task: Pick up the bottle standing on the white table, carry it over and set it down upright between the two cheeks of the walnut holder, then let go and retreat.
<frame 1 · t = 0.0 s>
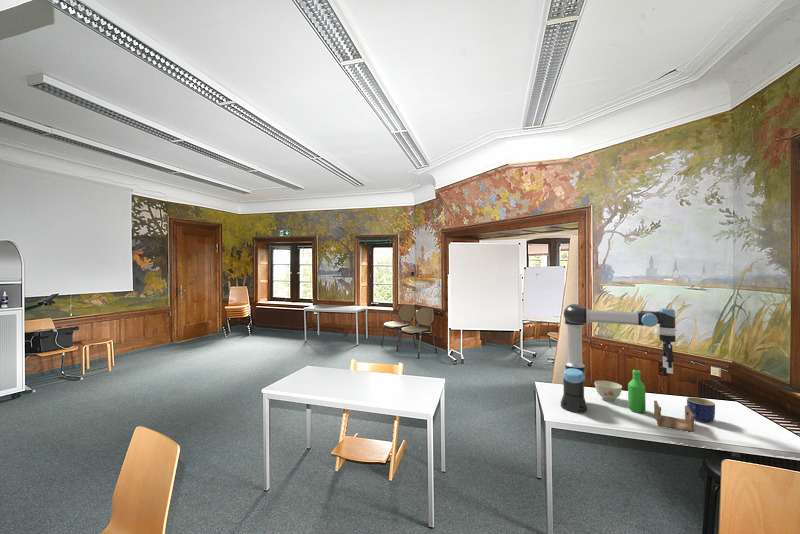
hand: (667, 370, 198), 28 cm above the table, fingers open, 13 cm apart
holder: (673, 424, 189), on the table
planter: (700, 420, 195), on the table
bowl: (608, 399, 226), on the table
bottle: (636, 410, 207), on the table
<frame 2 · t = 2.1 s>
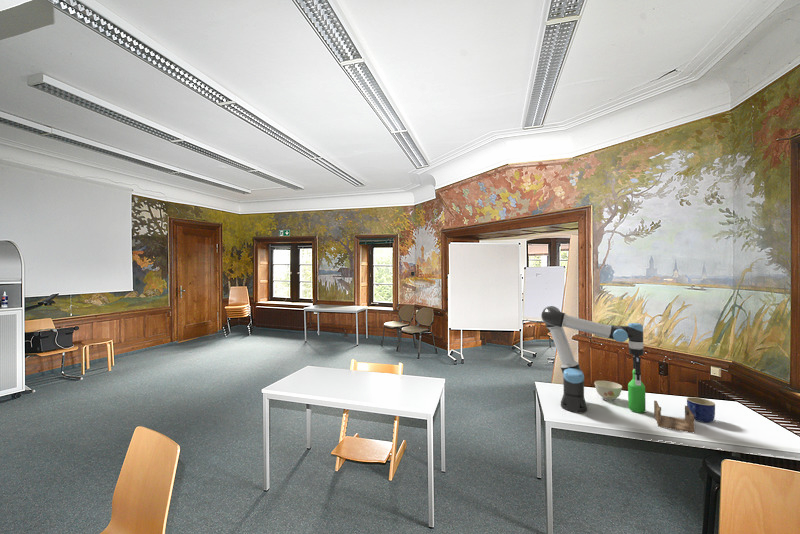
hand: (637, 382, 208), 18 cm above the table, fingers open, 13 cm apart
nothing on the table moved.
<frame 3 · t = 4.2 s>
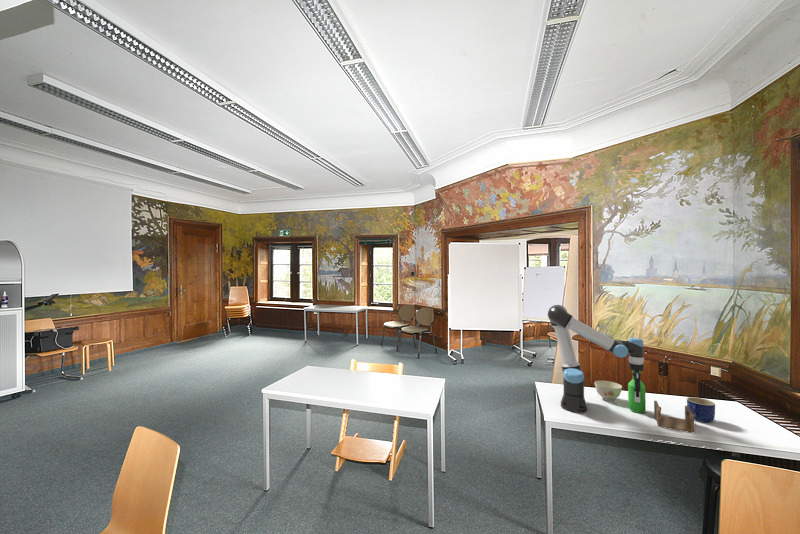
hand: (636, 399, 207), 7 cm above the table, fingers closed on bottle, 9 cm apart
bottle: (636, 410, 207), on the table, touching gripper
everything else where it was.
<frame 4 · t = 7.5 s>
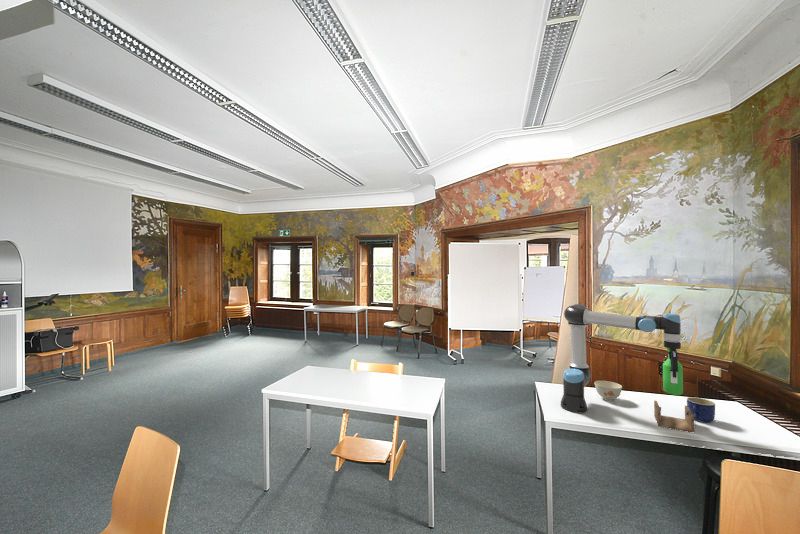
hand: (672, 380, 189), 25 cm above the table, fingers closed on bottle, 9 cm apart
bottle: (672, 393, 189), point 17 cm above the table, touching gripper
everything else where it was.
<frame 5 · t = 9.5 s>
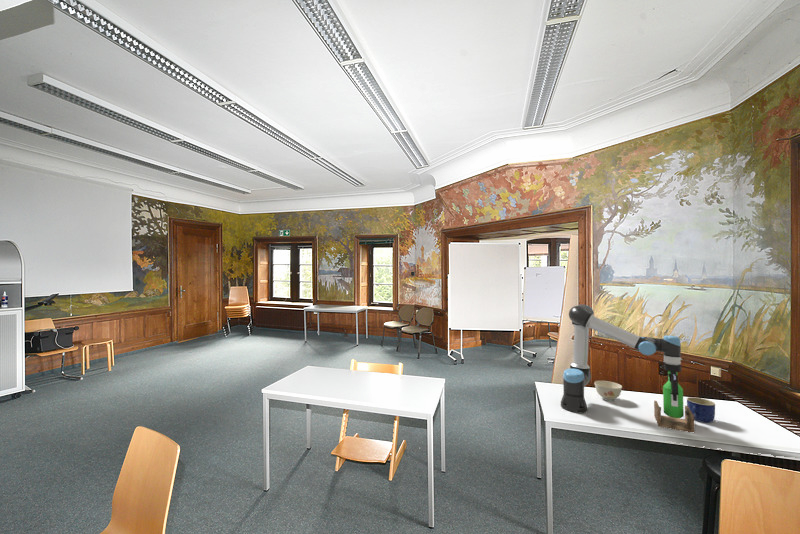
hand: (673, 403, 189), 12 cm above the table, fingers closed on bottle, 9 cm apart
bottle: (673, 415, 189), point 5 cm above the table, touching gripper
everything else where it was.
when the fingers open (9 cm above the table, at t = 11.0 s): bottle drops 1 cm, resting on holder.
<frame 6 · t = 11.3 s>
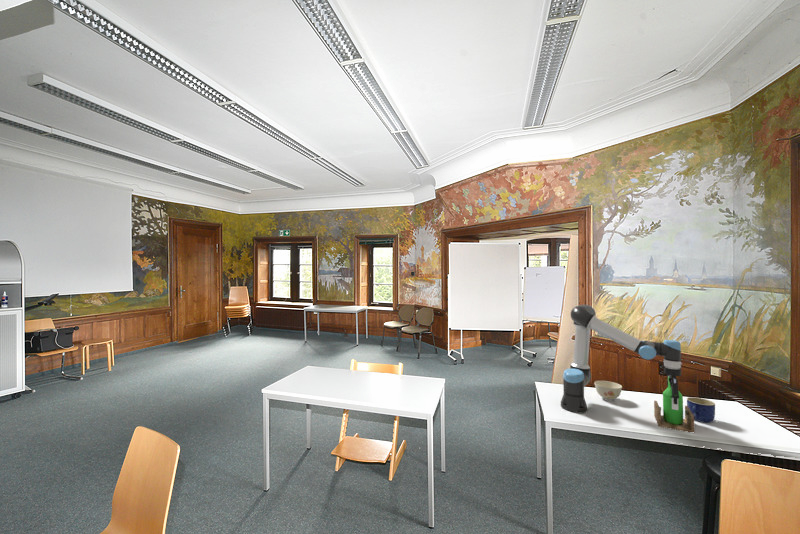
hand: (673, 405, 189), 10 cm above the table, fingers open, 12 cm apart
bottle: (673, 422, 189), point 1 cm above the table, touching holder
everything else where it was.
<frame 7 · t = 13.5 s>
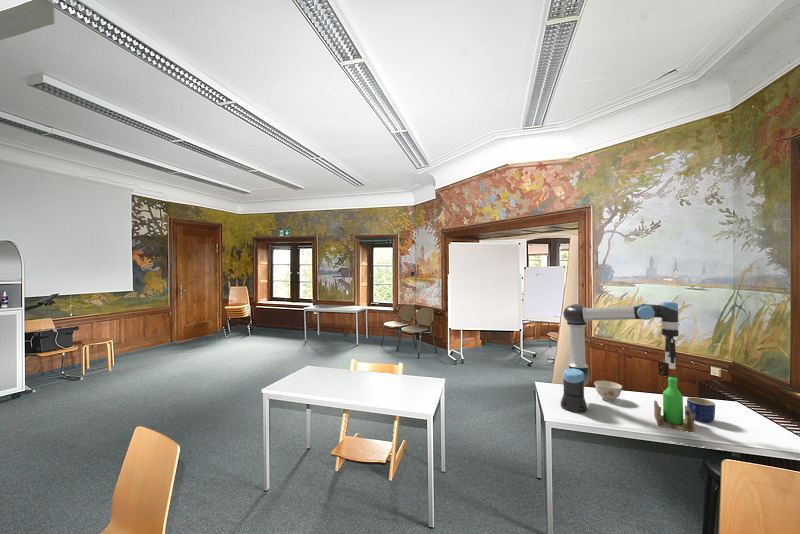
hand: (670, 365, 191), 33 cm above the table, fingers open, 13 cm apart
nothing on the table moved.
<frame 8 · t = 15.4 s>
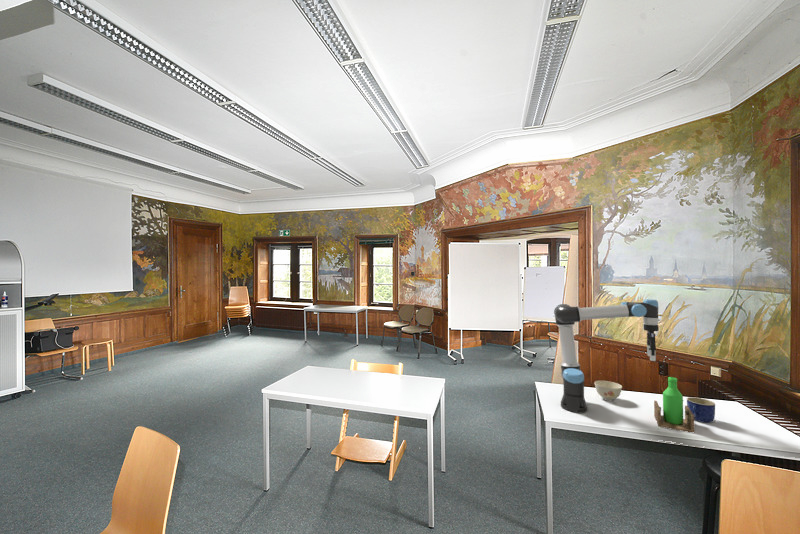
hand: (651, 358, 207), 33 cm above the table, fingers open, 13 cm apart
nothing on the table moved.
at the end: bottle inside the target area on the holder (0.0 cm from its centre), point 1.0 cm above the holder's base; bottle tilted 0°; the gripper is holding nothing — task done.
